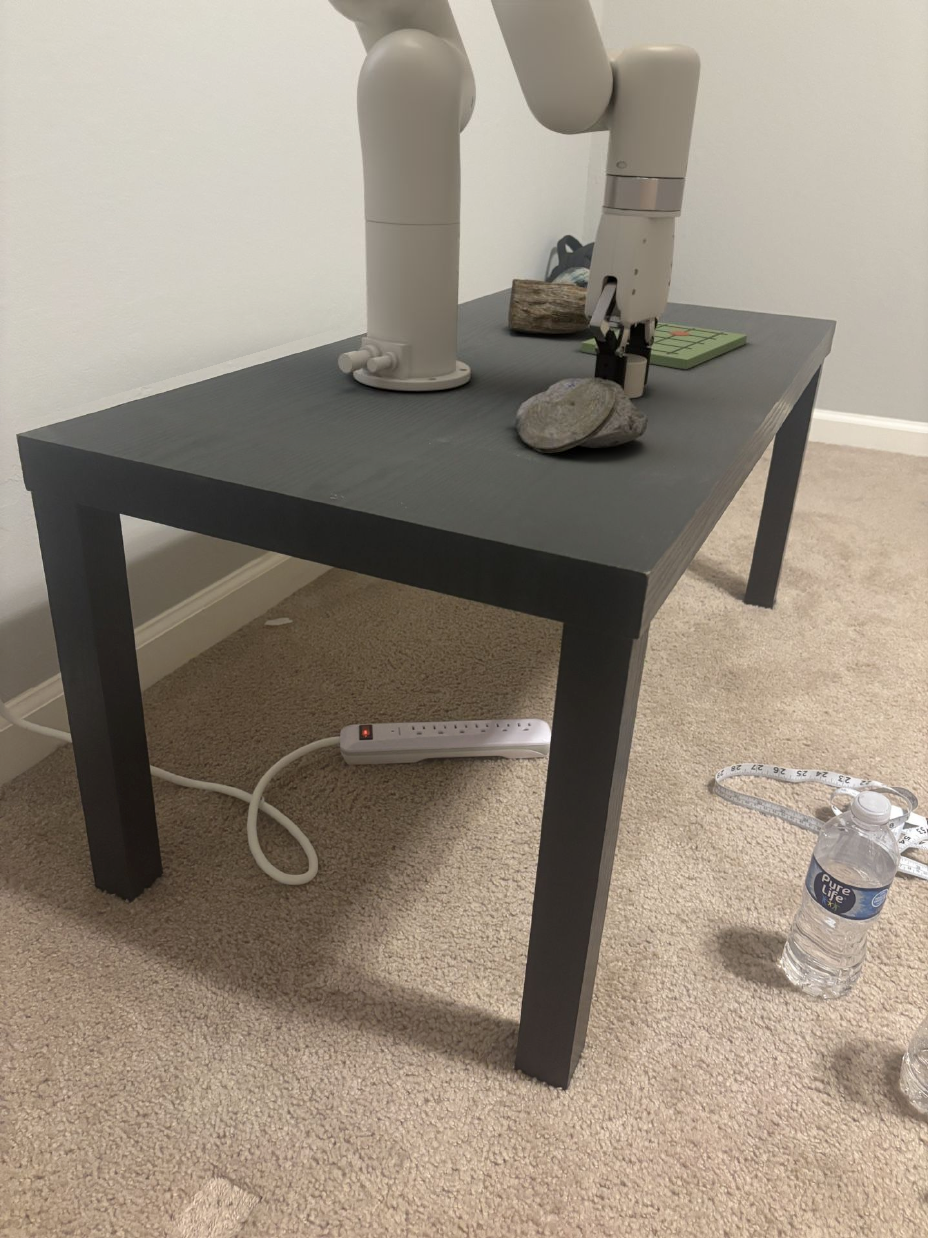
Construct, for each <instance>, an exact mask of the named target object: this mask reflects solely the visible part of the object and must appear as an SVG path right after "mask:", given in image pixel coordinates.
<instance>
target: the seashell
mask: <svg viewBox="0 0 928 1238" xmlns="http://www.w3.org/2000/svg"><path fill="white" fill-rule="evenodd" d="M589 272H590V268H586V267H583V266H575V267H570V268H567V269H565V270H564V271H563V272H561V273H560V274H558V276H556V277H555V278H554V279H553V281H552V282H551V283H553V282H555V283H564V284H574V285H576V286H578V287H583V288H587V286H588V279H589Z"/></svg>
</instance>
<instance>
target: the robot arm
mask: <svg viewBox="0 0 928 1238" xmlns="http://www.w3.org/2000/svg"><path fill="white" fill-rule="evenodd" d="M327 1H328V3H329V4H330V5H331V6H332V7H333V9H334V10H335V11H336V12H337V13H338V14H340V15H341V16H342V17H344V18H346V19H347V20H349V21H350V22H353V23H354V25H355V27H356V31H357V33H358V35H359V38H360V40H361V43H362V46H363V48H364V50H365V53H366V56H365V57H364V60H363V62H362V65H361V67H360V71H359V75H358V79H357V86H356V87H357V88H356V112H357V124H358V133H359V141H360V149H361V161H362V176H363V177H362V178H363V201H364V202H363V203H364V204H363V206H364V209H363V210H364V211H363V212H364V231H365V232H364V239H365V240H364V242H365V245H364V246H365V289H366V290H365V294H366V296H365V299H366V302H365V303H366V336H362V337H361V346H360V347H359V348H358V349H357V350H353V351H348V352H344V353H341V354H339V356H338V359H337V364H338V367H339V370H340V371H341V372H342V373H345V374H349V373H352V375H353V378H354V379H355V380H356V381H357V382H358V383H361V384H363V385H366V386H369V387H373V388H376V389H377V388H378V389H383V390H389V391H390V390H391V391H402V392H432V391H442V390H449V389H454V388H457V387H460V386H463V385H465V384H467V383H468V382H469V381H470V379H471V370H472V369H471V367H470V366H469V365H468V364H467V363H465V362H463V361H460V360H457V354H458V351H457V350H458V318H459V317H458V316H459V286H460V284H459V283H460V281H459V280H460V279H459V278H460V251H461V250H460V245H461V201H462V200H461V199H462V198H461V193H462V192H461V191H462V173H461V171H462V170H461V164H462V163H461V134H462V132H463V131H464V130H465V129H466V128H467V126H468V125H469V123H470V121H471V119H472V116H473V114H474V112H475V111H474V110H475V106H476V101H477V85H476V79H475V75H474V71H473V68H472V65H471V62H470V59H469V57H468V54H467V52H466V51H467V50H466V48H465V45H464V42H463V39H462V36H461V33H460V30H459V28H458V25H457V23H456V20H455V17H454V13H453V11H452V8H451V6H450V3H449V0H327ZM490 3H491V6H492V9H493V12H494V15H495V18H496V21H497V23H498V26H499V30H500V32H501V35H502V38H503V41H504V44H505V47H506V49H507V52H508V55H509V57H510V60H511V63H512V66H513V69H514V72H515V74H516V75H515V76H516V77H517V81H518V84H519V86H520V89H521V92H522V95H523V97H524V100H525V102H526V105H527V107H528V109H529V111H530V113H531V115H532V116H533V118H534V119H535V120H536V121H537V122H538V124H540V125H541V126H542V127H544V128H545V129H547V130H549V131H551V132H554V133H557V134H562V135H567V136H569V135H570V136H571V135H572V136H573V135H581V134H587V133H588V134H589V133H596V132H609V133H608V144H607V153H606V162H605V163H606V164H605V175H604V182H603V183H604V184H603V193H602V203H601V214H600V215H601V216H600V218H599V222H598V227H597V230H596V233H595V239H594V244H593V248H592V256H591V260H590V266H589V270H590V272H589V279H588V286H587V294H586V303H585V316H586V318H587V319H588V320H591V321H590V324H589V325H588V327H589V330H590V331H591V333H592V334H593V337H594V338H595V341H596V346H595V352H596V353H597V354H596V356H595V367H594V377H593V378H601V379H603V380H610V381H613V382H615V383H617V384H618V385H620V386H621V387H622V389H623V391H624V383H625V375H626V366H627V358H628V356H623V355H624V353H627V354H634V355H639V356H642V357H644V358H646V359H647V365H646V373H645V381H644V386H647V384H648V380H649V379H648V378H649V370H650V365H651V364H650V356H651V349H652V348H650V347H652V345H653V343H654V331H655V328H656V327H657V323H658V322H659V320H660V318H661V316H662V314H663V313H664V312H665V310H666V308H667V304H668V299H669V294H670V287H671V280H672V271H673V264H674V263H673V261H674V250H675V237H676V236H675V235H676V218H680V217H681V214H682V208H683V201H684V194H685V185H686V178H687V171H688V163H689V157H690V150H691V142H692V133H693V127H694V119H695V113H696V105H697V99H698V98H697V97H698V91H699V83H700V77H701V67H702V65H701V64H702V63H701V58H700V54H699V53H698V52H697V51H696V50H695V49H694V48H692V47H690V46H688V45H682V44H674V43H639V44H633V45H630V46H628V47H625V48H624V49H614V48H606V47H605V46H604V45H605V44H604V42H603V39H602V36H601V33H600V30H599V26H598V23H597V20H596V18H595V14H594V11H593V8H592V5H591V1H590V0H490ZM614 316H615V317H617V318H618V320H619V321H613V320H611V317H614ZM635 326H636V327H635ZM611 329H613V330H611ZM615 330H618V331H619V335H618V339H617V337H616V335H615V332H616V331H615ZM594 338H593V339H594ZM626 343H629V344H626ZM647 346H648V347H647Z"/></svg>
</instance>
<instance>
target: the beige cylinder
mask: <svg viewBox="0 0 928 1238" xmlns="http://www.w3.org/2000/svg"><path fill="white" fill-rule="evenodd" d="M623 356H628V358H627V366H626V375H625V383H624V391H623V392H624V394H625V395H626V396H627V397H628V398H629V399H636V398H640V397H642V396H643V394H644V387H645V385H644V381H645V373H646V365H647V359H646V358H644V357H642V356H639V355H634V354H627V353H624V355H623Z"/></svg>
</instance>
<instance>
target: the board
mask: <svg viewBox="0 0 928 1238" xmlns="http://www.w3.org/2000/svg"><path fill="white" fill-rule="evenodd" d="M635 327H636V325H635ZM614 332H615V335H616V337H617V339H618V335H619V330H617V331H614ZM747 337H748V335H747V334H743V333H736V332H729V331H723V330H715V329H711V328H702V327H696V326H689V325H683V324H682V325H681V324H674V323H667V322H661V321H658V323H657V327H656V328H655V331H654V343H653V345H652V347H650V348H652V349H651V356H650V364H649V365H656V366H661V367H662V366H663V367H668V368H672V369H679V370H689V369H691V368H694V367H695V366H698V365H700V364H703V363H705V362H707V361H710V360H711V359H714V358H716V357H719V356H721V355H723V354H726V353H728V352H731V351H732V350H734V349H738V348H739V347H742V346H744V345H746V343H747ZM626 344H629V343H626ZM595 346H596V341H595V338H590V339H588V340H584V341H582V342H581V345H580V352H581V353H586V354H591V355H597V353H596V352H595ZM647 347H648V346H647Z"/></svg>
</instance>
